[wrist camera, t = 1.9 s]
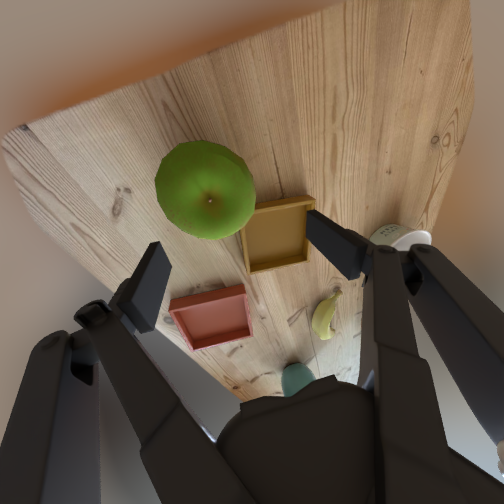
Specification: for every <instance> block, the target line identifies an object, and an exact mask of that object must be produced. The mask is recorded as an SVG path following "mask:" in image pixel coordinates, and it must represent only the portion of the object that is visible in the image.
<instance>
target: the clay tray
mask: <svg viewBox="0 0 504 504" xmlns="http://www.w3.org/2000/svg"><path fill="white" fill-rule="evenodd" d="M168 312H169V313H170V315H171V317H172V319H173V320H174V322H175V324H176V326H177V328H178V329H179V331H180V333H181V335H182V336H183V338H184V340H185V342H186V344H187V345H188V347H189V349H190V351H191V352H194V351H198V350H202V349H206V348H210V347H213V346H217V345H221V344H225V343H229V342H233V341H237V340H241V339H244V338H248V337H252V336H253V330H252V324H251V319H250V313H249V307H248V301H247V296H246V291H245V287H244V284H240V285H236V286H231V287H227V288H222V289H218V290H213V291H209V292H204V293H200V294H195V295H191V296H186V297H182V298H177V299H173V300H171V301H170V305H169V310H168Z"/></svg>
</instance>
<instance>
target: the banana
mask: <svg viewBox="0 0 504 504" xmlns="http://www.w3.org/2000/svg"><path fill="white" fill-rule="evenodd" d="M342 294H343V292H342V291H341V290H339V289H338V290H337V292H336V294H335V295H334V296H333V297H331V298H330V299H325V300H323V301H321V302H320V303H319V305H318V306H317V308H316V310H315V312H314V315H313V318H312V329H313V331H314V332H315V333H316V334H317V335H318V336H319V337H320V338H321V339H322V340H327V339H330V338H332V337H333V336H334V335H335V330H334V329H333V328H331V327H330V321H331V319H332V317H333V314H334V311H335V301H336V300H337V298H338V297H339V296H341V295H342Z"/></svg>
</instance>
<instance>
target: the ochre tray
mask: <svg viewBox="0 0 504 504" xmlns="http://www.w3.org/2000/svg"><path fill="white" fill-rule="evenodd" d="M315 201H316V199H314V198H313V197H311V196H309V195H303V196H297V197H291V198H285V199H279V200H273V201H268V202H262V203H256V204H255V209H254V214H253V215H252V216H251V218H250V219H249V221H248V222H247V224H246V225H245V226H244V227H243V228H242V229H240V230H239V231H240V237H241V244H242V250H243V256H244V262H245V268H246V271H247V275H252V274H257V273H262V272H266V271H271V270H276V269H280V268H285V267H289V266H294V265H299V264H303V263H308V262H310V253H311V242H310V241H309V240H308V239H307V238H306V237H305V235H306V213H307V211H308V210H312V209H315Z"/></svg>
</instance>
